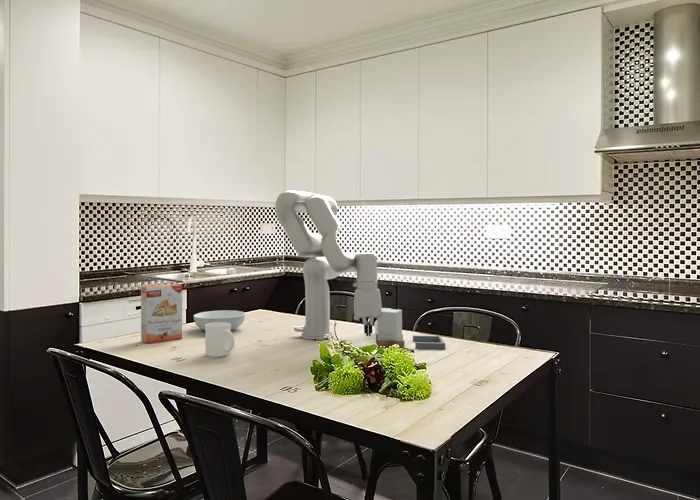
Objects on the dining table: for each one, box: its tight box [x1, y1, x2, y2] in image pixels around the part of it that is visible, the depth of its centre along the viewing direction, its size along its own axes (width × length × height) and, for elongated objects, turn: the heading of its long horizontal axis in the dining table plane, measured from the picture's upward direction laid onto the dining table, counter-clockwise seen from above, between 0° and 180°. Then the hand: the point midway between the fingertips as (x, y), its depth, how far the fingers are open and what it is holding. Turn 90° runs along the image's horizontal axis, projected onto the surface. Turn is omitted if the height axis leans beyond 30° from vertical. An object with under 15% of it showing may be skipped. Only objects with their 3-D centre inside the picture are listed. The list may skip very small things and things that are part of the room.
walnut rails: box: [375, 333, 405, 348], centre depth 199 cm, size 10×12×2 cm
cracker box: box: [140, 283, 183, 344], centre depth 203 cm, size 14×6×21 cm, turn 131°
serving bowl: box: [193, 309, 246, 331], centre depth 224 cm, size 21×21×7 cm
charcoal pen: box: [412, 335, 446, 350], centre depth 198 cm, size 10×13×2 cm
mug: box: [204, 322, 236, 358], centre depth 180 cm, size 12×8×10 cm
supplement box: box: [378, 308, 403, 340], centre depth 199 cm, size 7×7×13 cm
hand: (368, 335), depth 199 cm, fingers closed
